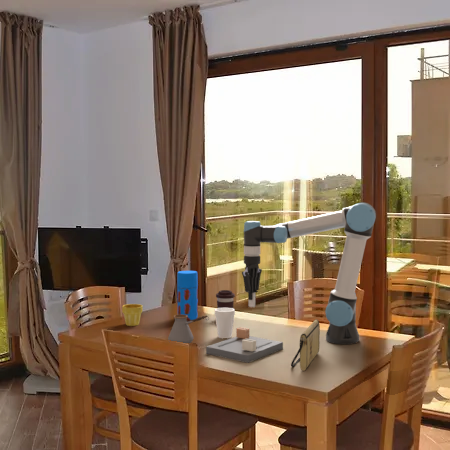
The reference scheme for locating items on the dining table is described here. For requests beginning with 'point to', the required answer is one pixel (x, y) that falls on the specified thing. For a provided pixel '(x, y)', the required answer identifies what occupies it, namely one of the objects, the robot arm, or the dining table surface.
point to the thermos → (187, 294)
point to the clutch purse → (308, 345)
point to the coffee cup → (225, 299)
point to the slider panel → (235, 352)
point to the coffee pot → (182, 329)
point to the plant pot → (132, 314)
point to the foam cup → (224, 321)
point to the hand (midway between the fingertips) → (251, 306)
